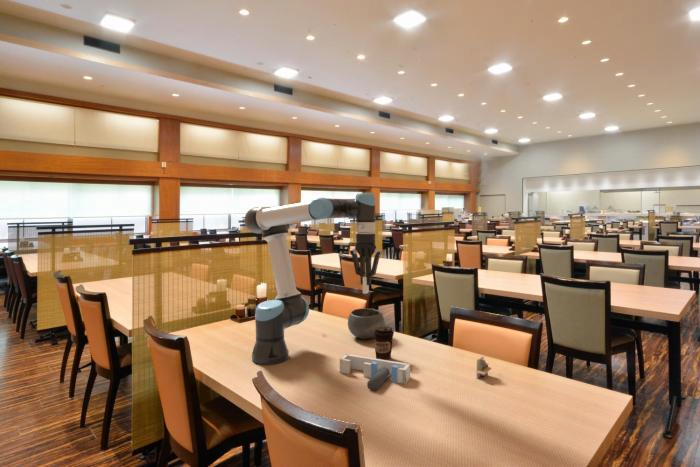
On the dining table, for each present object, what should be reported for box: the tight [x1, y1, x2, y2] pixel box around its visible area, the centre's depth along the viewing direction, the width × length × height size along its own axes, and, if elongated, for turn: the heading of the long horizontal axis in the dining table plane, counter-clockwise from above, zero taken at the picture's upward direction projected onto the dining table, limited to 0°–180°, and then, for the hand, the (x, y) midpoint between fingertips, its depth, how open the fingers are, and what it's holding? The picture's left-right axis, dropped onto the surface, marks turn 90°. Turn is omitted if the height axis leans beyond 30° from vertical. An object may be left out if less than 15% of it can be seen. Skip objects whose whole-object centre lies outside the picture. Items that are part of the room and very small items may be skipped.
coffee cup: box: [373, 325, 395, 361], centre depth 165 cm, size 9×8×13 cm
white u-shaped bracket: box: [339, 353, 411, 385], centre depth 149 cm, size 26×6×6 cm, turn 66°
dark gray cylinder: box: [366, 367, 391, 392], centre depth 142 cm, size 12×4×4 cm, turn 155°
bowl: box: [347, 307, 386, 340], centre depth 193 cm, size 18×18×13 cm
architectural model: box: [475, 355, 493, 379], centre depth 146 cm, size 3×7×7 cm, turn 138°
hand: (365, 292), depth 156 cm, fingers closed
